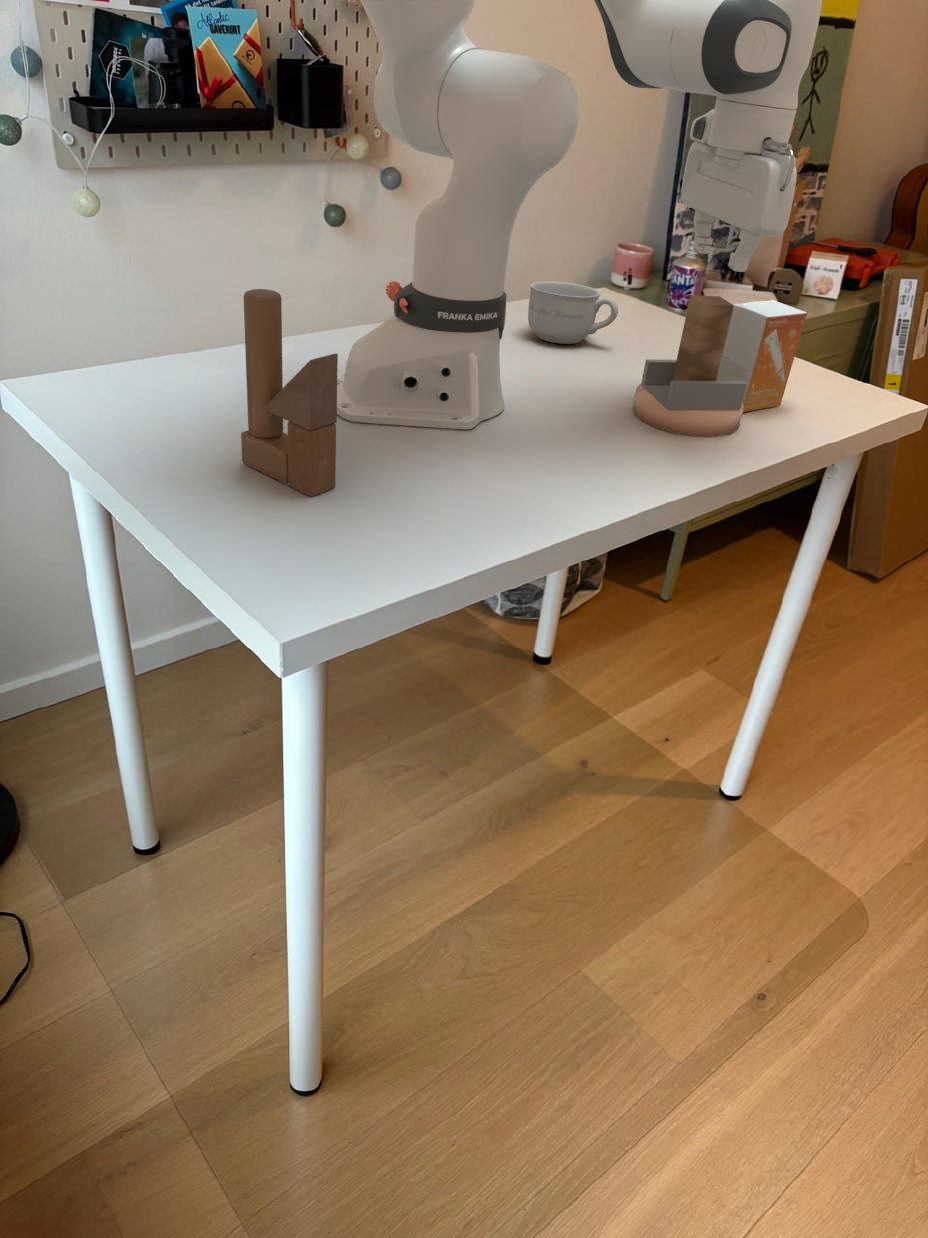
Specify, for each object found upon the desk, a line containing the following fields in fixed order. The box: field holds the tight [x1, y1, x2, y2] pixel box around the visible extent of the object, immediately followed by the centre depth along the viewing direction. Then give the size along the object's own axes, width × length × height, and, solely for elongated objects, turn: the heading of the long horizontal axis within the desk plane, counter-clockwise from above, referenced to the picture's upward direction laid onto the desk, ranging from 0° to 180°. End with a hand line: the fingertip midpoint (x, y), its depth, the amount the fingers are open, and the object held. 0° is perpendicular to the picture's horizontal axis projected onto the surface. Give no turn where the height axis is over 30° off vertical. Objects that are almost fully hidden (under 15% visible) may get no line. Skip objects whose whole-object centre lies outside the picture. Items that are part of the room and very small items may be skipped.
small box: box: [716, 299, 808, 413], centre depth 129 cm, size 8×6×13 cm
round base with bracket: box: [632, 358, 747, 438], centre depth 124 cm, size 14×14×6 cm
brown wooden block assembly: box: [240, 288, 339, 497], centre depth 95 cm, size 4×11×18 cm, turn 51°
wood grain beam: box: [672, 294, 734, 381], centre depth 120 cm, size 4×4×12 cm
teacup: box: [527, 280, 619, 345], centre depth 147 cm, size 14×11×8 cm
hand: (718, 260), depth 115 cm, fingers open, 8 cm apart
